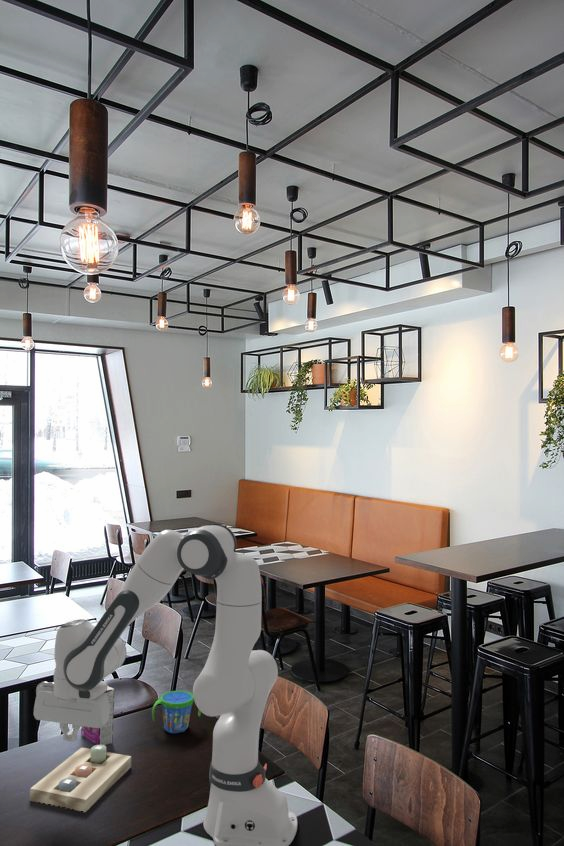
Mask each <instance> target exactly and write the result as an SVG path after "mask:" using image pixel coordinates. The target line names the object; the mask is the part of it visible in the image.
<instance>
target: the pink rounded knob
mask: <svg viewBox="0 0 564 846" xmlns="http://www.w3.org/2000/svg"><path fill="white" fill-rule="evenodd" d="M91 773H92V766H91V765H88V764H83V765H80V766H78V767H76V769H75V776H79V777H84V778H87V777H88V776H89V775H90V774H91Z"/></svg>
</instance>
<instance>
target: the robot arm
mask: <svg viewBox="0 0 564 846" xmlns="http://www.w3.org/2000/svg"><path fill="white" fill-rule="evenodd" d="M237 545H238V543H237V539H236V536H235V533H234V532H233V531H232V530H231V528H229V527H227V526H226V525H222V524H217V523H215V524H209V525H202V526H200V527H197V528H195V529H193V530H191V531H189V532H187V533H186V534H185V535H184V534H182V533H181V532H180V531H177V530H173V529H164V530H161V531H160V532H159V533H157V534H156V536H155V537H153V539H151V541H149V544H147V546H146V547H145V549H143V551H142V553H141V554H140V555H139V557H138V559H137V560H136V562H135V563H134V565H133V566H132V569H131V570H130V572H129V574H128V575H127V578H126V579H125V581H124V582H123V584H122V586H121V588H120V589H119V590H118V593H117V594H116V595H115V597H114V599H113V601H112V602H111V604H110V605H109V606H108V608H107V609H106V611H105V612H104V613H103V615H102V616H101V618H100V619H99V620H98V622H97V624H96V625H95V626H94V624H92V623H91V621H89V620H88V619H74V620H71V621H68V622H66V623H64V624H62V625H61V626H59V627H58V629H57V631H56V635H55V642H54V655H53V656H54V662H55V668H54V672H53V682H51V681H50V682H48V681H41V682H40V683H38V684H37V686H36V689H35V693H36V694H35V695H36V697H35V701H34V707H33V716H34V719H35V720H37V721H44V722H52V723H58V724H59V728H60V730H61V732H62V734H63V738H62V739H63V741H67V742H73V743H74V742H76V741H77V739H78V733H79V731H80V729H81V727H82V726H86V727H93V728H101V727H102V726H104V725H105V724H106V723H107V722H108V720H109V700H108V696H107V695H106V694H105V693H104V692H105V691H106V690H107V685H108V683H107V682H105V681H103V680H104V679H106V678H107V677H108V676H110V675H111V674H112V673H114V672H115V671H116V670H118V669H119V668H120V667H122V665H123V664H124V662H125V660H126V658H127V647H126V644H125V642H124V641H123V639H122V638H121V636H122V635H123V633H124V632H125V630H126V629H127V628H128V627H129V626H130V625H131V624H132V623H133V622H134V621H136V620H137V619H138V618H139V617H140V616H142V615H143V614H145V613H146V612H148V611H149V610H151V609H152V608H154V607H155V606H157V605H158V604H159V603H160V602H161V601H162V600H163V599H164V598H165V596H167V594H168V593H169V592H170V590H172V588H173V586H175V583H176V581H177V580H178V578H179V577H180V574H182V572H183V571H186V572H188V573H190V574H193V575H196V576H200V577H202V578H205V579H207V580H209V581H213V580H215V583H216V606H215V608H216V614H215V630H214V635H213V640H212V644H211V647H210V651H209V654H208V657H207V660H206V662H205V665H204V666H203V668H202V670H201V671H200V673H199V674H198V676H197V677H196V678H195V680H194V682H193V688H192V695H193V697H194V701H193V702H194V704H195V706H196V707H197V709H198V711H199V710H200V711H201V714H203V715H205V716H207V717H218V716H220V717H219V718H218V720H217V721H216V723H215V725H214V727H213V731H212V756H211V761H210V766H209V777H208V778H209V786H210V791H209V799H208V804H207V808H206V813H205V814H204V815H205V816H204V819H203V829H204V831H205V832H206V833H207V835H209V836H210V837H211V838H212V839H213V840H212V841H213V843H214V845H215V846H289V845H291V843H292V842H293V841H294V840H295V839H294V838H295V836H296V834H297V831H298V817H297V816H296V814H295V812H292V811H290V810H289V807H288V802H287V798H286V796H285V793H283V792H282V791H281V790H279V789H278V788H277V787H276V786H275V785H274V784H273V783H271V781H269V780H268V778H266V771H267V769H268V768H267V766H268V764H267V763H264V766H263V765H262V763H260V761H259V740H260V728H261V724H262V719H263V714H264V712H265V708H266V704H267V701H268V698H269V695H270V692H271V691H272V689H273V686H274V685H275V683H276V682H277V679H278V675H279V671H278V670H279V669H278V665H277V662H276V659H275V658H274V656H272V654H271V653H269V652H268V651H267V650H263V649H257V650H253V648H254V646H255V644H256V643H257V641H258V639H259V638H260V635H261V632H262V604H263V603H262V601H263V599H262V597H263V595H262V594H263V593H262V591H263V590H262V579H261V572H260V568H259V564H258V562H257V560H256V559H255V558H253V557H252V556H250V555H247V554H239V553H237V552H236V550H237ZM69 725H71V728H72V729H73V731H71V730H70V727H69Z"/></svg>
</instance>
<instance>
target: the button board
mask: <svg viewBox="0 0 564 846" xmlns="http://www.w3.org/2000/svg"><path fill="white" fill-rule="evenodd" d="M90 755H91V748H87V747H79V749H78V750H77V751H75V752H74V753H72V754H71V755H70V756H69V757H68V758H66V759H65V760H64V761H63V762H61V763H60V764H59V765H58V766H56V767H55V768H53V770H52V771H50V772H49V773H48V774H46V775H45V776H44V777H43V778H42V779H40V780H38V782H36V783H35V784H34V785H32V787H30V789H29V802H34V803H39V802H40V803H39V804H43V803H45V804H44V805H48V804H51V805H50V806H53V805H55V806H54V807H58V806H60V807H59V808H62V807H66V808H65V809H67V808H70V809H69V810H72V809H74V810H73V811H76V812H77V811H78V812H81V811H83V812H82V813H86V812H87V811H88V810H90V808H91V807H93V805H94V804H96V803H97V802H98V800H99V799H101V798H102V796H104V795H105V793H106V792H108V791H109V789H110V788H112V787H113V786H114V784H115V783H117V782H118V780H120V779H121V778H122V777H123V776H124V775H125V774H126V773H127V772H128V771H129V770H130V769H131V768H132V756H131V755H126V754H120V753H115V752H110V751H106V761H105V762H104V763H102V764H101V765H100V764H95V763H90ZM83 764H88V765H91V766H92V773H91V774H90V775H89V776H88V777H87V778H84V777H79V776H75V769H76V767H78V766H80V765H83ZM65 778H74V779H76V788H75V789H73V790H72V791H71V792H65V791H60V790H59V782H60V781H61V780H63V779H65Z"/></svg>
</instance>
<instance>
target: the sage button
mask: <svg viewBox="0 0 564 846" xmlns="http://www.w3.org/2000/svg"><path fill="white" fill-rule="evenodd" d="M90 749H91V755H90V763H95V764H100V765H101V764H102V763H104V762H105V761H106V752H107V745H106V746H105V745H95V744H94V745H93V746H92V747H91V748H90Z"/></svg>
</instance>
